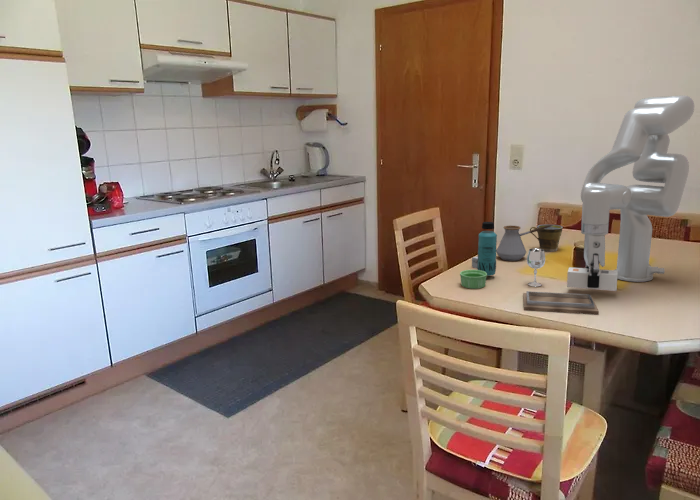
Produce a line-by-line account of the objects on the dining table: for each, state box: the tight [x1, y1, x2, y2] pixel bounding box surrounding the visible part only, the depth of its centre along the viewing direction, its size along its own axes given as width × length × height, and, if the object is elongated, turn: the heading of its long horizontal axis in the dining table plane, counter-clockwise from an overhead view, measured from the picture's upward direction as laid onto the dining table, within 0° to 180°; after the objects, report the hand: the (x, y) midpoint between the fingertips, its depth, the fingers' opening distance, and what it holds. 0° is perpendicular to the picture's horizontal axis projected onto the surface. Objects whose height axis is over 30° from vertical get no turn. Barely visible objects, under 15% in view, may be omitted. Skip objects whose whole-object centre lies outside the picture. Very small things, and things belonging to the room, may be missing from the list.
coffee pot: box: [496, 224, 553, 262], centre depth 204 cm, size 21×12×15 cm, turn 56°
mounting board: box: [522, 290, 600, 316], centre depth 155 cm, size 20×13×2 cm, turn 73°
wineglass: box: [526, 247, 546, 288], centre depth 173 cm, size 6×6×12 cm
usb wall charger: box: [471, 256, 478, 270], centre depth 198 cm, size 4×7×4 cm, turn 119°
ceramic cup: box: [529, 223, 564, 253], centre depth 218 cm, size 13×10×10 cm
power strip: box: [566, 266, 618, 292], centre depth 163 cm, size 14×5×5 cm, turn 63°
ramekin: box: [459, 269, 488, 290], centre depth 176 cm, size 9×9×4 cm
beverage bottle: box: [476, 221, 498, 277], centre depth 183 cm, size 6×7×20 cm
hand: (591, 283), depth 163 cm, fingers closed on power strip, 5 cm apart
